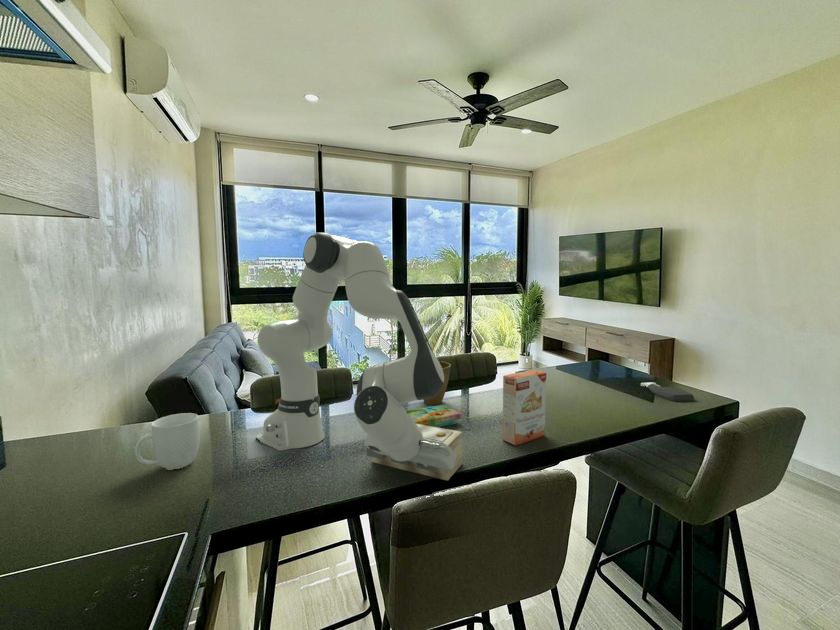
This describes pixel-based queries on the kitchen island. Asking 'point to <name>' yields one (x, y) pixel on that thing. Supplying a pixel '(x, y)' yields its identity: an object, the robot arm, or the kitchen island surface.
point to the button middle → (402, 462)
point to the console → (437, 434)
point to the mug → (173, 440)
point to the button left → (374, 454)
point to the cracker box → (524, 406)
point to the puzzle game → (435, 416)
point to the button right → (428, 468)
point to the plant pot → (441, 394)
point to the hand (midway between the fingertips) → (422, 462)
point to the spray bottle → (669, 392)
